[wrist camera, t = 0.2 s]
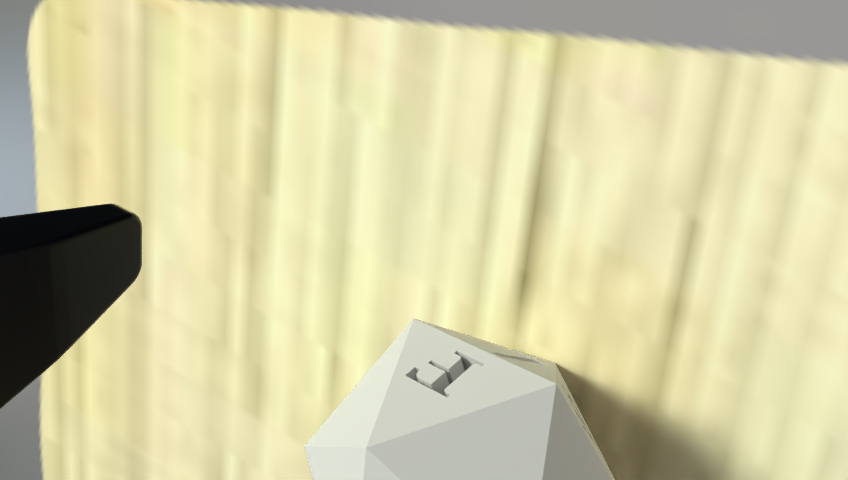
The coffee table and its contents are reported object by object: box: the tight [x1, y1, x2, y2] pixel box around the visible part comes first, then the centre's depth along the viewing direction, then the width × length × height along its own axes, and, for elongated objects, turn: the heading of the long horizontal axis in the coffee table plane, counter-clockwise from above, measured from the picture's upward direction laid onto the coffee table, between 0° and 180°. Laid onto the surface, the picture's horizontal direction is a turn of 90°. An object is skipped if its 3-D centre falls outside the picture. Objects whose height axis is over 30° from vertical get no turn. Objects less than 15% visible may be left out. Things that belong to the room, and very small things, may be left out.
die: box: [304, 319, 615, 480], centre depth 23 cm, size 8×9×10 cm
